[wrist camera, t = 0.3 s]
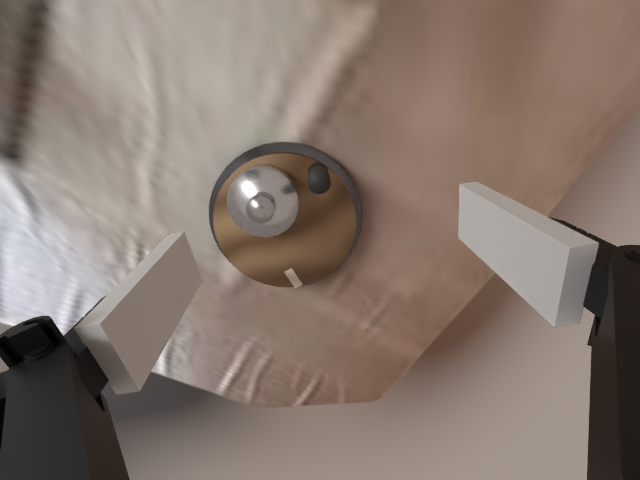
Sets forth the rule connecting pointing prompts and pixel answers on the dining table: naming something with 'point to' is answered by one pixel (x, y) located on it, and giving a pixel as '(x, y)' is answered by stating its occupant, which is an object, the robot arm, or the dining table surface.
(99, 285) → the dining table surface
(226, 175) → the turntable base
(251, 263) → the platter
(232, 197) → the cover
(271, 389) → the dining table surface
